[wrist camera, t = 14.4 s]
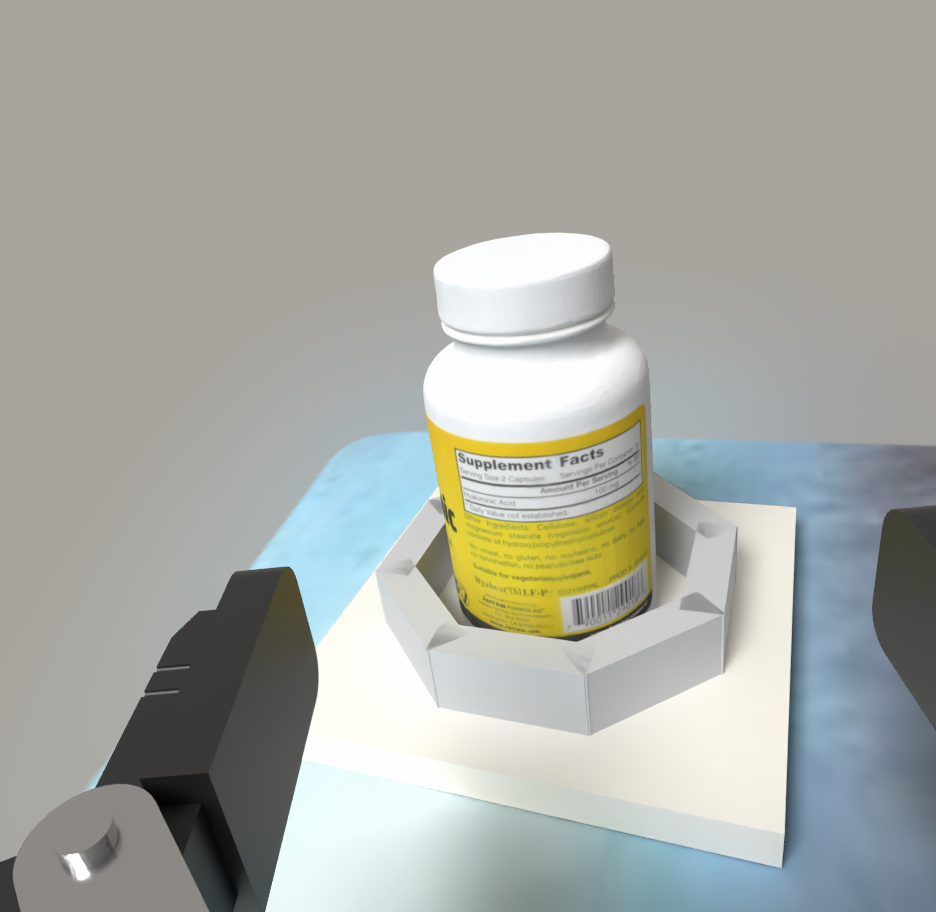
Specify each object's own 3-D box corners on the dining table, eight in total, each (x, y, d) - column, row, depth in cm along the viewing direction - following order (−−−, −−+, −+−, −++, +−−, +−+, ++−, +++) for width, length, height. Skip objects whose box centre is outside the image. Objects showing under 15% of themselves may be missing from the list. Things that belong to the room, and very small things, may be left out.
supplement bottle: (495, 542, 26) (455, 228, 21) (670, 560, 24) (666, 218, 19) (429, 656, 21) (360, 292, 17) (637, 690, 19) (622, 287, 15)
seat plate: (794, 534, 26) (799, 456, 24) (781, 868, 16) (790, 768, 15) (445, 504, 30) (435, 436, 29) (269, 751, 20) (241, 666, 19)
